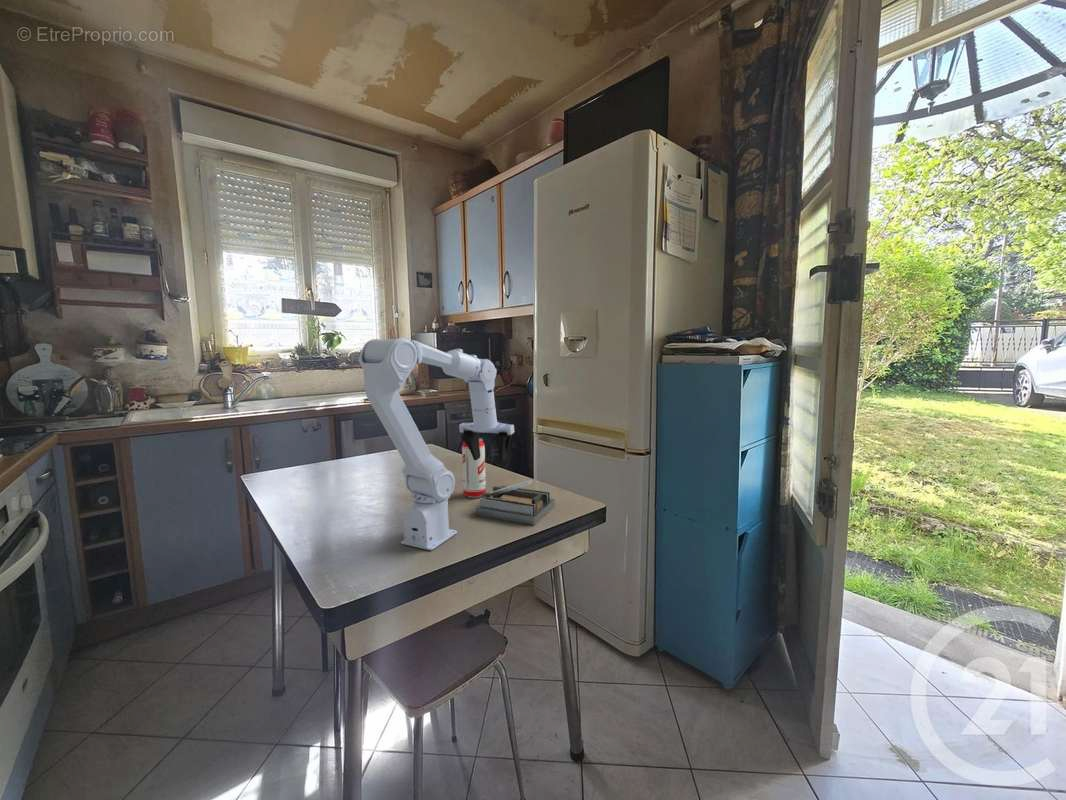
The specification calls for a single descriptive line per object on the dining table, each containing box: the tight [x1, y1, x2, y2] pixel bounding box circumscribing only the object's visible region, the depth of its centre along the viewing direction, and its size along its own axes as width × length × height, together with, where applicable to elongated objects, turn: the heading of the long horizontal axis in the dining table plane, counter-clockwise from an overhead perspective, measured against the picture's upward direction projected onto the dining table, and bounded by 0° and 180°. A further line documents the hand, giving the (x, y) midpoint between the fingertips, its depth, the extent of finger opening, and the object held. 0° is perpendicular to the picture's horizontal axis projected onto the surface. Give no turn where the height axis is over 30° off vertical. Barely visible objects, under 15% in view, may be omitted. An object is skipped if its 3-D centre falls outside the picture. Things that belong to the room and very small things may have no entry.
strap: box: [489, 479, 534, 497], centre depth 108 cm, size 4×12×1 cm, turn 66°
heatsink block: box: [474, 485, 556, 526], centre depth 108 cm, size 13×16×4 cm
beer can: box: [461, 437, 487, 499], centre depth 119 cm, size 6×6×16 cm
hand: (490, 459), depth 107 cm, fingers open, 7 cm apart
